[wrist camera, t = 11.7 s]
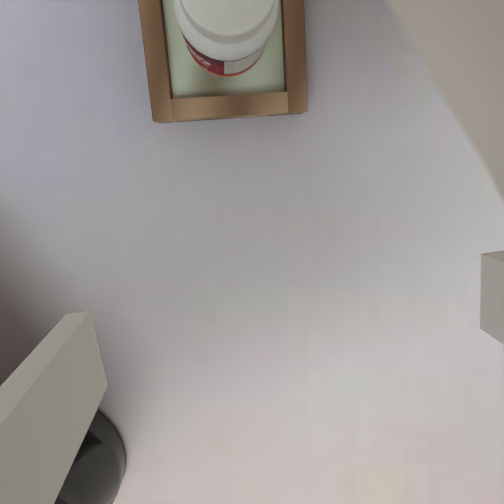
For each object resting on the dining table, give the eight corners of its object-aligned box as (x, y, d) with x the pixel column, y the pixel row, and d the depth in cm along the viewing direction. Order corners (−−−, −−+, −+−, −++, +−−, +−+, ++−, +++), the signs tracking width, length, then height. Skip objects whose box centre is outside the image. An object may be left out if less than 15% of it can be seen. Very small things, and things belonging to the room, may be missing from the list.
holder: (159, 123, 35) (152, 121, 32) (140, -40, 32) (130, -59, 29) (300, 113, 36) (307, 110, 33) (294, -48, 33) (301, -68, 29)
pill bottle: (169, 20, 31) (138, -46, 20) (238, -28, 31) (245, -121, 20) (214, 94, 33) (208, 71, 22) (281, 50, 32) (309, 3, 21)
